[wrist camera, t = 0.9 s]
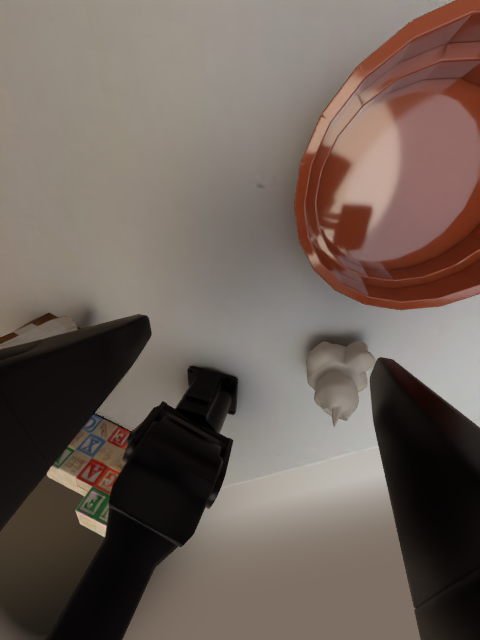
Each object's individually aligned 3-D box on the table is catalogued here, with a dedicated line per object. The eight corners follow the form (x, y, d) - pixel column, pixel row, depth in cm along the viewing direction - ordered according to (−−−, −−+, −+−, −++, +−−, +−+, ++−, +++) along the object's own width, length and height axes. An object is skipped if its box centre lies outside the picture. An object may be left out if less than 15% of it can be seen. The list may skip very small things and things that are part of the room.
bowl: (460, 293, 18) (504, 327, 13) (288, 269, 20) (280, 291, 16) (604, 43, 11) (778, -43, 7) (322, 59, 14) (324, 4, 10)
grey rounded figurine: (293, 355, 24) (283, 418, 18) (342, 314, 21) (353, 375, 14) (332, 385, 25) (337, 458, 18) (387, 350, 21) (418, 425, 15)
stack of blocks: (92, 428, 47) (28, 497, 36) (89, 410, 43) (18, 480, 33) (188, 476, 45) (149, 562, 35) (194, 461, 41) (153, 552, 31)
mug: (89, 396, 41) (-13, 489, 28) (23, 343, 38) (-120, 419, 26) (137, 340, 30) (10, 449, 18) (50, 263, 28) (-166, 326, 16)
